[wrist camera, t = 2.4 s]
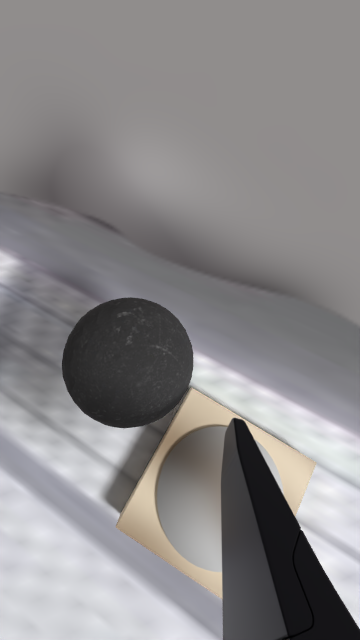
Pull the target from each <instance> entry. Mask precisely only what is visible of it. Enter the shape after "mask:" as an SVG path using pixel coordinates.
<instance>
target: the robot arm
mask: <svg viewBox="0 0 360 640" xmlns="http://www.w3.org/2000/svg"><path fill="white" fill-rule="evenodd" d="M300 529H301V527H300V525H299V523H298V521H297V520H296V518H295V516H294V514H293V512H292V510H291V508H290V506H289V504H288V502H287V501H286V499H285V497H284V495H283V493H282V491H281V489H280V487H279V485H278V483H277V481H276V480H275V478H274V476H273V474H272V472H271V470H270V468H269V466H268V464H267V462H266V461H265V459H264V457H263V455H262V453H261V451H260V449H259V447H258V445H257V443H256V442H255V440H254V438H253V436H252V434H251V432H250V430H249V428H248V426H247V424H246V423H245V421H244V420H242V419H238V418H232V420H231V422H230V424H229V426H228V428H227V430H226V432H225V438H224V449H223V460H222V471H221V536H222V599H223V640H360V629H359V627H358V626H357V624H356V623H355V621H354V619H353V618H352V616H351V614H350V613H349V611H348V610H347V608H346V606H345V605H344V603H343V601H342V600H341V598H340V596H339V595H338V593H337V591H336V590H335V588H334V586H333V585H332V583H331V581H330V580H329V578H328V576H327V575H326V573H325V571H324V570H323V568H322V566H321V564H320V562H319V561H318V559H317V557H316V555H315V553H314V551H313V550H312V548H311V546H310V544H309V542H308V540H307V538H306V536H305V535H304V533H303V531H302V530H300Z"/></svg>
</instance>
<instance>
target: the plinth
mask: <svg viewBox="0 0 360 640" xmlns="http://www.w3.org/2000/svg"><path fill="white" fill-rule="evenodd" d="M232 418H238V419H242V420H244V421H245V423H246V424H247V426H248V428H249V430H250V432H251V434H252V436H253V438H254V440H255V442H256V443H257V445H258V447H259V449H260V451H261V453H262V455H263V457H264V459H265V461H266V462H267V464H268V466H269V468H270V470H271V472H272V474H273V476H274V478H275V480H276V481H277V483H278V485H279V487H280V489H281V491H282V493H283V495H284V497H285V499H286V501H287V502H288V504H289V506H290V508H291V510H292V512H293V514H294V516H296V513H297V511H298V508H299V506H300V503H301V501H302V498H303V496H304V493H305V491H306V488H307V486H308V483H309V481H310V478H311V476H312V473H313V470H314V468H315V465H316V462H315V461H313V460H311V459H310V458H308V457H306V456H305V455H303V454H301V453H300V452H298V451H296V450H295V449H293V448H291V447H290V446H288V445H286V444H285V443H283V442H281V441H280V440H278V439H276V438H275V437H273V436H271V435H270V434H268V433H266V432H265V431H263V430H261V429H260V428H258V427H256V426H255V425H253V424H251V423H250V422H248V421H247V420H245V419H243V418H242V417H240V416H238V415H237V414H235V413H233V412H232V411H230V410H228V409H227V408H225V407H223V406H222V405H220V404H218V403H217V402H215V401H213V400H212V399H210V398H208V397H207V396H205V395H203V394H202V393H200V392H198V391H197V390H195V389H193V388H190V389H189V391H188V393H187V395H186V397H185V398H184V400H183V402H182V404H181V406H180V407H179V409H178V411H177V413H176V415H175V416H174V418H173V420H172V422H171V424H170V426H169V427H168V429H167V431H166V433H165V435H164V436H163V438H162V440H161V442H160V444H159V445H158V447H157V449H156V451H155V453H154V454H153V456H152V458H151V460H150V462H149V463H148V465H147V467H146V469H145V471H144V472H143V474H142V476H141V478H140V480H139V481H138V483H137V485H136V487H135V489H134V490H133V492H132V494H131V496H130V498H129V499H128V501H127V503H126V505H125V507H124V508H123V510H122V512H121V514H120V517H119V519H118V522H117V525H116V528H117V529H119V530H120V531H122V532H123V533H125V534H126V535H128V536H129V537H131V538H132V539H134V540H135V541H137V542H138V543H140V544H141V545H143V546H144V547H146V548H147V549H148V550H150V551H151V552H153V553H154V554H156V555H157V556H159V557H160V558H162V559H163V560H165V561H166V562H168V563H169V564H171V565H172V566H174V567H175V568H177V569H178V570H180V571H181V572H182V573H184V574H185V575H187V576H188V577H190V578H191V579H193V580H194V581H196V582H197V583H199V584H200V585H202V586H203V587H205V588H206V589H208V590H209V591H211V592H212V593H214V594H215V595H217V596H218V597H219V598H221V599H222V536H221V471H222V460H223V449H224V438H225V432H226V430H227V428H228V426H229V424H230V422H231V420H232ZM222 600H223V599H222Z"/></svg>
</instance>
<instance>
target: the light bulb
mask: <svg viewBox="0 0 360 640" xmlns="http://www.w3.org/2000/svg"><path fill="white" fill-rule="evenodd" d="M62 370H63V378H64V381H65V384H66V387H67V390H68V392H69V394H70V395H71V397H72V399H73V401H74V402H75V403H76V405H77V406H78V407H79V408H80V409H81V410H82V411H83V412H84V413H85V414H86V415H88V416H89V417H91V418H93V419H94V420H96V421H98V422H100V423H103V424H105V425H108V426H112V427H118V428H131V427H139V426H144V425H146V424H149V423H151V422H154V421H157V420H159V419H160V418H162V417H163V416H165V415H166V414H167V413H168V412H170V411H171V410H172V409H173V408H174V407H175V406H176V405H177V404H178V403H179V401H180V400H181V398H182V397H183V395H184V394H185V392H186V390H187V388H188V385H189V383H190V380H191V377H192V371H193V350H192V345H191V342H190V340H189V337H188V335H187V333H186V330H185V329H184V327H183V326H182V324H181V323H180V321H179V320H178V319H177V318H176V317H175V316H174V315H173V314H172V313H171V312H170V311H169V310H167V309H166V308H164V307H162V306H161V305H159V304H157V303H154V302H151V301H148V300H145V299H139V298H121V299H116V300H111V301H108V302H106V303H103V304H100V305H99V306H97V307H95V308H94V309H92V310H90V311H89V312H88V313H87V314H86V315H84V316H83V317H82V318H81V319H80V320H79V322H78V323H77V324H76V326H75V327H74V329H73V330H72V332H71V334H70V335H69V337H68V340H67V343H66V345H65V349H64V352H63V360H62Z"/></svg>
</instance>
